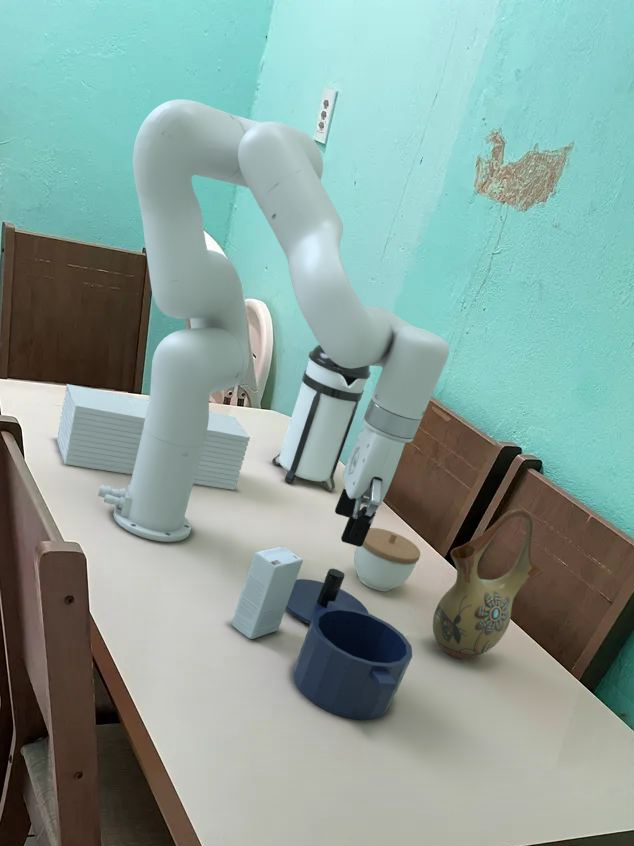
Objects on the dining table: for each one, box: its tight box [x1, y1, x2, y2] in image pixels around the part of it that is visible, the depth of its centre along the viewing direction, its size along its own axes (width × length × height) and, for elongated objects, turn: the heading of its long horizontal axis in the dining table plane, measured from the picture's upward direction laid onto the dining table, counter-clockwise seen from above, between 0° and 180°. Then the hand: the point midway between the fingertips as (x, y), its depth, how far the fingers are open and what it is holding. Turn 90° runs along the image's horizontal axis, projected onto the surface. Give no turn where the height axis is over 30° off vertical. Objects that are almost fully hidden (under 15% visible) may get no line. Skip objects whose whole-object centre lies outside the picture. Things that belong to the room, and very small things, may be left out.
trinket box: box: [353, 527, 421, 592], centre depth 147 cm, size 11×11×9 cm
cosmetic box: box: [231, 545, 304, 640], centre depth 120 cm, size 6×4×12 cm
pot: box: [292, 601, 413, 720], centre depth 115 cm, size 14×19×8 cm
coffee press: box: [272, 344, 372, 492], centre depth 178 cm, size 17×16×30 cm
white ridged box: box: [56, 383, 251, 491], centre depth 160 cm, size 32×11×11 cm, turn 110°
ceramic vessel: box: [432, 508, 545, 660], centre depth 130 cm, size 16×9×25 cm, turn 107°
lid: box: [285, 568, 370, 625], centre depth 133 cm, size 15×15×7 cm
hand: (347, 529), depth 128 cm, fingers open, 9 cm apart
